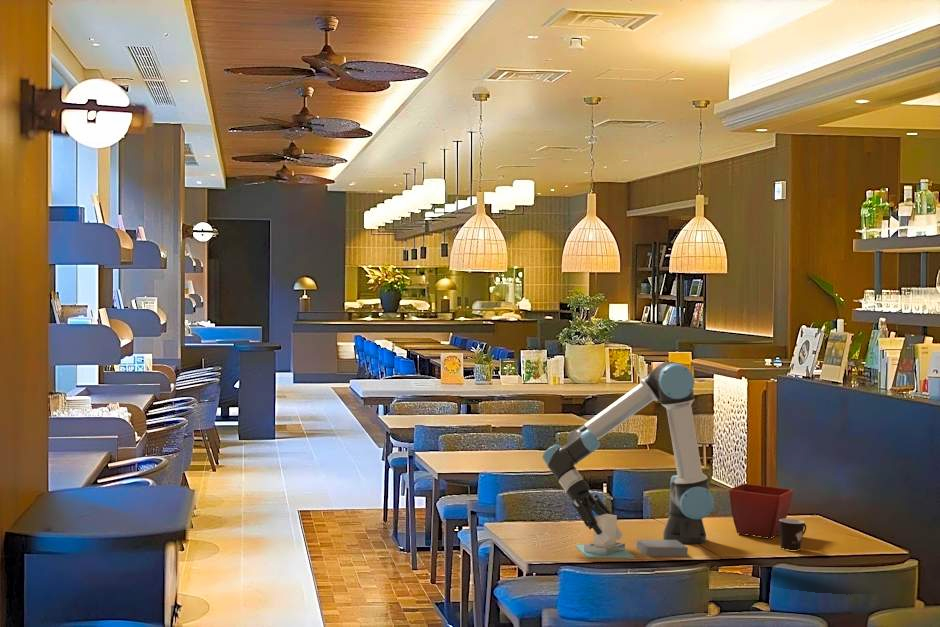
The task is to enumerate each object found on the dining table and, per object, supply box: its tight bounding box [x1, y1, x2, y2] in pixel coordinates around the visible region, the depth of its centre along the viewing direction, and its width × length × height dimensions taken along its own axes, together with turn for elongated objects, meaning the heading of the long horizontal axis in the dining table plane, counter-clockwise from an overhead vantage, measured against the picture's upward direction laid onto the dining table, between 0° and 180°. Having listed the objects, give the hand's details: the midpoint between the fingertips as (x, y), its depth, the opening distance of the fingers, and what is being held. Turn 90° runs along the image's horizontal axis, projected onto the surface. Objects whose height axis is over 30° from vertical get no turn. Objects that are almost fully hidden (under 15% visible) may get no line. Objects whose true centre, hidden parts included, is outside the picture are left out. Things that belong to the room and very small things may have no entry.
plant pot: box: [728, 483, 794, 538], centre depth 443 cm, size 19×19×17 cm
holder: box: [583, 541, 626, 556], centre depth 403 cm, size 8×12×2 cm
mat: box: [574, 544, 636, 559], centre depth 403 cm, size 18×16×1 cm
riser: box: [636, 539, 689, 557], centre depth 406 cm, size 12×14×3 cm
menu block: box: [592, 513, 618, 548], centre depth 403 cm, size 4×8×10 cm, turn 143°
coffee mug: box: [779, 518, 807, 550], centre depth 419 cm, size 12×9×10 cm
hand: (613, 539), depth 401 cm, fingers closed on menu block, 8 cm apart
